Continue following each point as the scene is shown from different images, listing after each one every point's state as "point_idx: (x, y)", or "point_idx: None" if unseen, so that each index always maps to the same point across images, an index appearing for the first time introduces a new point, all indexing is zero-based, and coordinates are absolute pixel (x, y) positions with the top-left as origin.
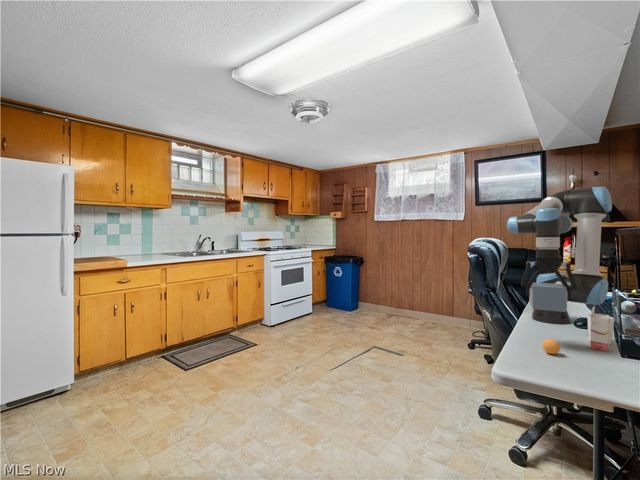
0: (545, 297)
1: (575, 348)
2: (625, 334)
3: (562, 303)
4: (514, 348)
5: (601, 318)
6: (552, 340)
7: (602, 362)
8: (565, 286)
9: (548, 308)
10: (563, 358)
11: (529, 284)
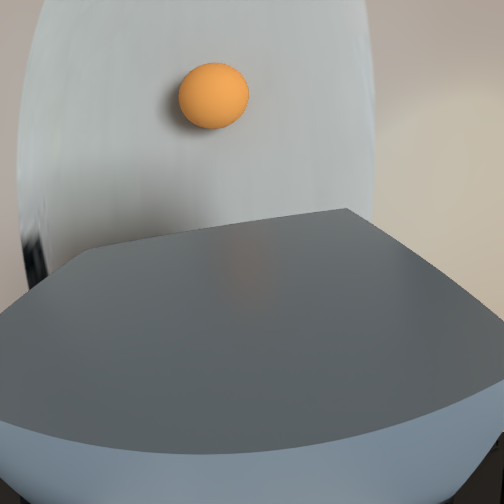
0: (227, 278)
1: None
2: None
3: (69, 274)
4: (351, 87)
5: None
6: (203, 81)
7: (70, 131)
8: (15, 492)
9: (208, 233)
10: (174, 74)
11: (481, 478)
